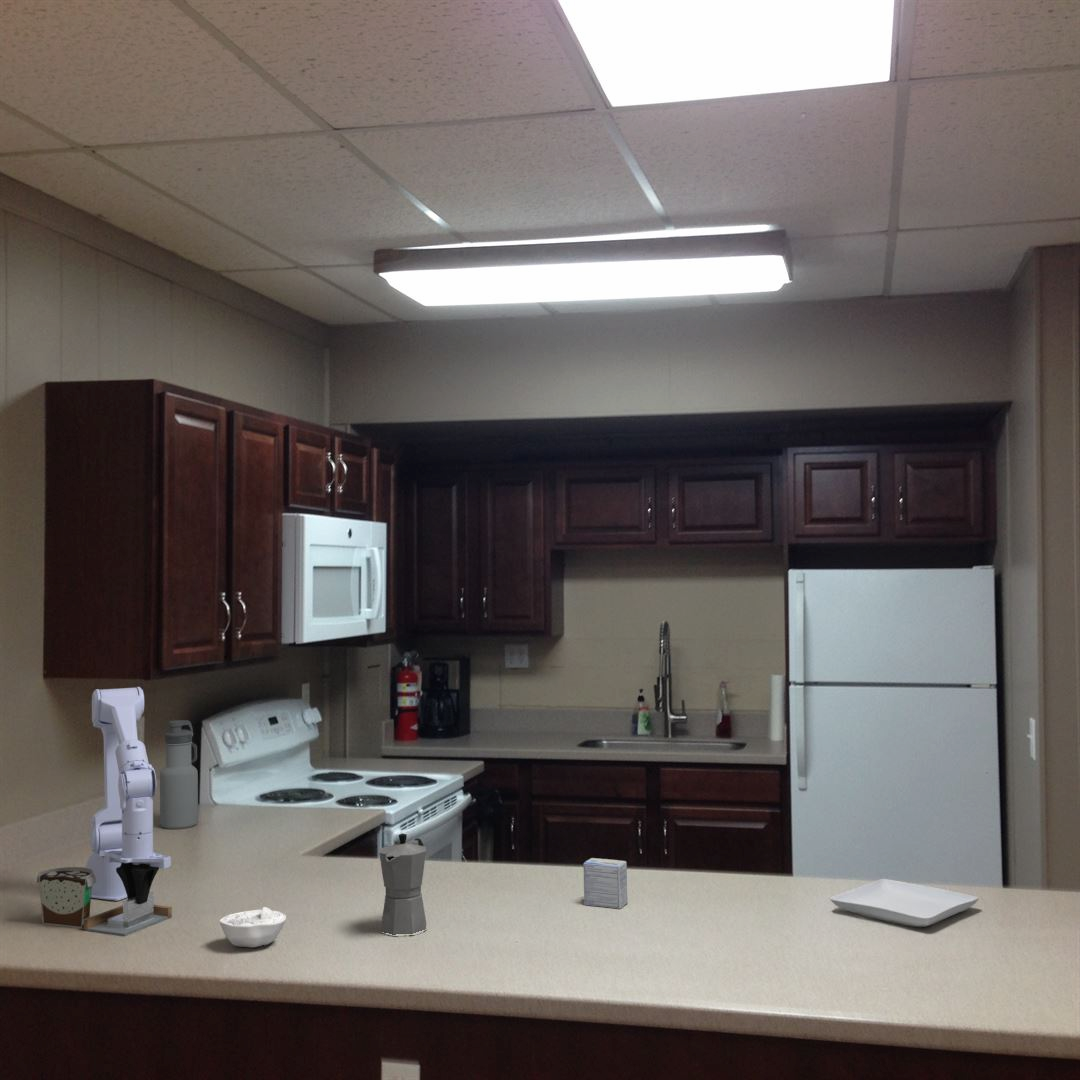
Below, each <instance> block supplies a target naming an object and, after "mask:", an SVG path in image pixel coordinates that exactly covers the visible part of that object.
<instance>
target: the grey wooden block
mask: <svg viewBox="0 0 1080 1080" xmlns="http://www.w3.org/2000/svg"><path fill="white" fill-rule="evenodd" d="M582 866H583V904H584V906H590V907H591V906H592V907H599V908H601V907H602V908H609V909H618V910H619V909H622V908H623V907H624V906H626V905H627V904H628V899H629V898H628V873H627V872H628V871H627V870H628V868H627V867H628V863H627V861H626V860H618V859H608V858H595V857H591V858H589V859H587V860H585V861H584V863H583V864H582Z"/></svg>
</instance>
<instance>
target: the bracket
mask: <svg viewBox="0 0 1080 1080" xmlns="http://www.w3.org/2000/svg"><path fill="white" fill-rule="evenodd" d="M154 897H155V896H154V891H153V892H152V891H149V895H148V899H147V902H145V903H143V904H137V901H136V897H133V898H130V899H128V898H127V899H125V900H122V905H123V913H122V914H120V915H117V916H115V917H112V918H109V919H108V925H109V926H116V927H124V928H130V927H132V926H135V925H137V924H140V923H142V922H145V921H147V920H150V919H152V918H154V905H155V903H154Z"/></svg>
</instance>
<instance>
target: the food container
mask: <svg viewBox="0 0 1080 1080" xmlns="http://www.w3.org/2000/svg"><path fill="white" fill-rule="evenodd" d="M36 877H37V878H36V883H37V884H38V885H39V896H40V906H41V907H40V909H41V919H42V925H47V926H56V927H57V926H58V927H64V928H74V929H75V928H76V929H84V919H87V918H90V913H91V904H92V903H91V901H92V898H91V893H92V885H94V884H95V883H96V879H95V875H94V873H93V870H92V869H89V868H86V867H83V866H66V867H65V866H64V867H56V868H50V869H49V868H48V869H46V870H41V871H38V875H37V876H36Z"/></svg>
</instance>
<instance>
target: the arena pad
mask: <svg viewBox="0 0 1080 1080" xmlns="http://www.w3.org/2000/svg"><path fill="white" fill-rule="evenodd" d="M168 919H169V918H168V916H161V915H154V918H152V919H150V920H147V921H145V922H142V923H140V924H137V925H135V926H132V927H130V928H124V927H116V926H109V925H108V921H107V922H104V923H101V924H99V925H96V926H94V927H91V928H88V931H87V932H92V933H101V934H107V935H115V936H116V935H117V936H121V937H126V936H127V935H131V934H133V933H135V932H139V931H141V930H142V929H145V928H147V927H151V926H153V925H155V924H159V923H161V922H164V921H165V920H168Z"/></svg>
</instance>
